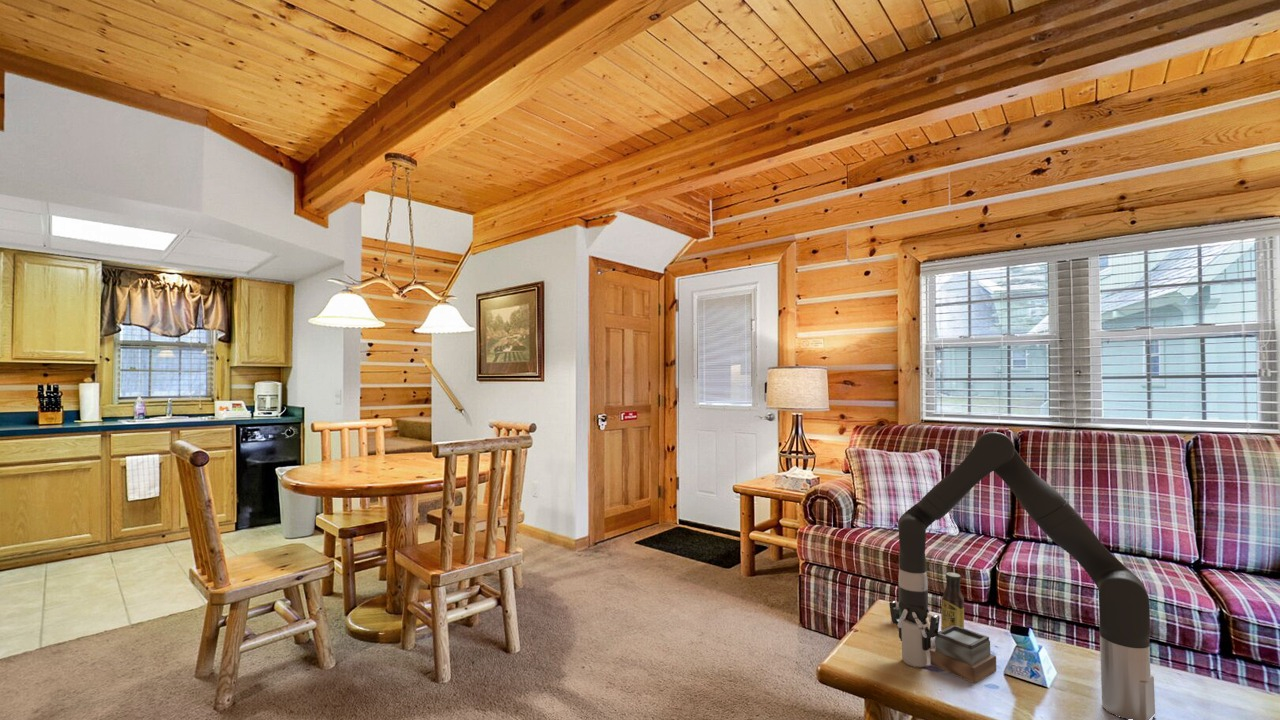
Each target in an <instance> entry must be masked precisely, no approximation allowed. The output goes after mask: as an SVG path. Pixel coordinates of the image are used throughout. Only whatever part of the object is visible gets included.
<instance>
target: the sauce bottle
mask: <svg viewBox="0 0 1280 720" xmlns="http://www.w3.org/2000/svg"><path fill="white" fill-rule="evenodd" d="M945 579H946V580H945V581H946V583H945V584H946V586H945V589H944V591H943V595H942V597H941V611H940V613H941V614H940V615H941V618H940V619H941V620H940V622H941V623H940V624H941V627H940V631H941V630H943V629H946V628H948V627H950V626H952V625H956V626H959V627H962V628H965V597H964V595H963V594H962V591H961V585H960V584H961V575H960V574H959V573H957V572H946V573H945Z"/></svg>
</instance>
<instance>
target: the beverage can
mask: <svg viewBox="0 0 1280 720" xmlns="http://www.w3.org/2000/svg"><path fill="white" fill-rule="evenodd" d="M922 625H924V623H923V622H922ZM925 630H926V629H925ZM901 631H902V641H901V658H902V661H903V662H904V663H905V664H906V665H907V664H908V666H909V665H910V667H912V666H913V667H912V668H923V667H925V666H926V665H927V664H928V656H927V655H928V650H927V651H925V650H923V644H922V637H923V635H922V632H921V629H919V628H918V625H917V624H916V623H914V622H912V621H908V620H907V619H905V620H903V622H902V623H901Z"/></svg>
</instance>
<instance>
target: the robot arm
mask: <svg viewBox="0 0 1280 720" xmlns="http://www.w3.org/2000/svg"><path fill="white" fill-rule="evenodd" d="M992 472H993V473H995V474H996V475H997V476H998V477H999V478H1000V479H1001V480H1002V481H1003V482H1004V483H1005V484H1006V485H1007V486H1008V488H1009V489H1010V491H1011V492H1012V493H1013V495H1014V496H1015V498H1016V499H1017V501H1018V502H1019V503H1020V505H1021V506H1022V508H1023V509H1024V510H1025V511H1026V513H1027V515H1029V517H1030V518H1031V519H1032V521H1034V522H1035V524H1036V526H1038V527H1039V529H1041V530H1042V531H1043V533H1044V535H1046V536H1048V538H1049V539H1050V540H1052V541H1053V542H1054V543H1055V544H1056V545H1058V546H1059V547H1060V548H1061V549H1063V550H1064V551H1065V552H1066V553H1067V554H1068V555H1070V556H1071V557H1072V558H1074V560H1076V562H1077V563H1078V564H1079V565H1080V567H1082V569H1083V570H1084V571H1085V572H1086V574H1087V575H1088V576H1089V578H1090V579H1091V580H1092V581H1093V583H1094V584H1095V586H1096V588H1097V589H1098V606H1099V607H1098V608H1099V609H1098V611H1099V648H1100V649H1099V651H1100V652H1099V653H1100V654H1099V655H1100V681H1101V682H1100V684H1101V705H1102V707H1104V708H1105V709H1106V710H1105V709H1104V708H1103V709H1104V710H1105V711H1106V712H1108V711H1109V712H1108V713H1110V714H1111V713H1112V714H1111V715H1113V714H1115V715H1117V716H1120V717H1122V718H1126V719H1133V720H1149V719H1150V718H1151V717H1152V716H1153V715H1154V714H1155V715H1156V704H1155V703H1156V697H1155V677H1154V676H1153V675H1151V674H1152V673H1151V652H1150V651H1151V649H1150V637H1151V615H1150V614H1151V613H1150V612H1151V609H1150V607H1151V605H1150V598H1149V597H1150V596H1149V594H1148V592H1147V589H1146V587H1145V584H1144V582H1143V581H1142V580H1141V579H1140V578H1139V577H1138V576H1136V574H1135V573H1133V572H1132V571H1131V570H1130V569H1129V568H1128V567H1126V566H1125V564H1123V563H1122V562H1121V561H1120V560H1119V559H1118V558H1117V557H1116V556H1115V555H1113V554H1112V553H1111V551H1110V550H1108V549H1107V548H1106V546H1105V545H1103V543H1102V542H1101V541H1100V538H1098V536H1096V533H1094V531H1093V530H1092V529H1091V528H1090V526H1089V524H1088V523H1086V522H1085V520H1084V519H1083V518H1082V517H1081V515H1080V514H1079V513H1078V512H1077V511H1076V509H1074V507H1072V506H1071V504H1070V503H1069V502H1068V501H1067V500H1066V499H1065V498H1064V497H1063V496H1062V495H1061V494H1060V493H1059V492H1058V491H1056V489H1054V487H1052V486H1051V485H1050V484H1049V483H1048V482H1047V481H1045V480H1044V479H1043V478H1041V476H1039V475H1038V474H1037V473H1036V472H1035V471H1034V470H1033V469H1031V467H1030V466H1029V465H1028V464H1027V463H1026V461H1024V459H1023V458H1022V457H1021V455H1020V454H1019V452H1018V451H1017V450H1016V448H1015V445H1014V442H1013V441H1012V439H1011V438H1010V437H1008V435H1006V434H1004V433H1001V432H997V431H988V432H985V433H983V434H980V436H978V437H977V438H976V441H975V442H974V445H973V447H972V449H970V451H969V453H968V454H967V455H966V457H965V458H964V459H963V461H961V462H960V463H959V464H958V465H957V467H955V468H954V469H953V470H952V471H951V472H950V473H948V475H946V476H944V477H943V478H942V479H941V480H940V481H938V483H936V484H935V485H933V487H932V488H931V489H930V490H929V491H928V492H927V493H925V494H924V496H923V497H922V498H921V499H920V500H919V501H918V502H917V503H915V504H914V505H913V506H911V507H910V508H908V509H907V510H905V512H904V513H903V514H902V515H901V516H900V517H899V519H898V522H897V528H898V530H897V531H898V542H899V553H898V581H897V582H898V595H899V600H900V602H898V601H897V600H893V601H890V602H889V604H888V605H889V612H890V617H891V618H890V619H891V623H892V624H893V625H896V626H897V628H898V638H899V640H900V642H902V631H901V623H902V622H903V620H905V619H907V620H908V621H912V622H914V623H916V624H917V625H918V628H919V629H921V632H922V635H923V637H922V644H923V650H925V651H927V652H928V650H929V651H930V649H931V648H932V640H931V639H932V638H935V636H937V635H938V632H939V629H940V628H939V626H940V619H941V618H940V615H939V614H933V613H931V612H930V610H929V609H928V604H929V591H928V590H929V587H928V585H929V584H928V583H929V582H928V576H927V575H928V573H927V557H926V544H927V543H926V541H927V539H926V538H927V532H926V530H927V529H928V528H929V527H930V526H931V525H932V524H933V523H934V522H936V521H938V520H941V519H942V518H944V517H945V516H946V515H947V514H948V513H949V512H950V511H952V509H954V508H955V506H956V505H958V504H959V503H960V501H961V500H963V498H964V497H965V496H966V495H967V494H968V493H969V492H970V491H971V490H972V489H973V488H974V487H975V486H976V485H977V484H978V483H979V482H980V481H982V479H984V478H986V477H987V476H988V475H989V474H991V473H992ZM899 608H900V610H901V612H902V615H901V617H900V615H899ZM927 618H928V620H927ZM922 622H923V623H924V625H922ZM925 629H926V630H925ZM1115 715H1114V716H1115ZM1117 716H1116V717H1117ZM1120 717H1119V718H1120ZM1122 718H1121V719H1122Z"/></svg>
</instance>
